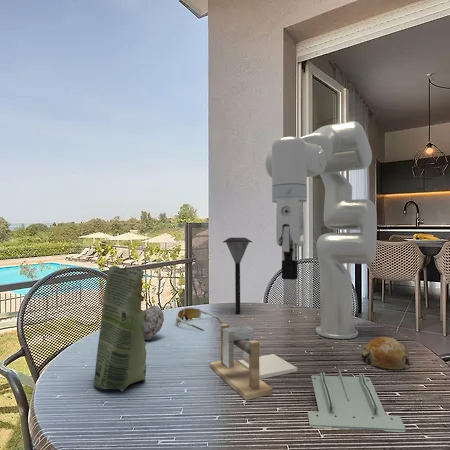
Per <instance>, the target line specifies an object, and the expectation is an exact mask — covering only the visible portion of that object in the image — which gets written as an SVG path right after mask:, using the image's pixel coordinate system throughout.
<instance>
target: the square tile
mask: <svg viewBox="0 0 450 450" xmlns="http://www.w3.org/2000/svg"><path fill="white" fill-rule="evenodd" d="M237 362H238V363H239V364H241V365H242V366H243V367H244V368H246V369H247V370H248V371H249V364H248V363H246V362H245V361H244V360H243V359H238V361H237ZM297 372H298V367H296V366H295V365H293V364H291V363H290V362H288V361H286V360H284V359H283V358H282V357H279V356H278V355H276V354H274V353H272V354H266V355H261V356H260V355H259V379H260V380H263V379H268V378H272V377H276V376H282V375H287V374H291V373H297Z"/></svg>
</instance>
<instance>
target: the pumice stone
mask: <svg viewBox="0 0 450 450" xmlns="http://www.w3.org/2000/svg"><path fill="white" fill-rule="evenodd" d="M143 311H145V312H146V314H147V315H146V322H145V324H144V325H143V326H144V341H151V340H152V339H153V338H154V337H155V336H156V335H157V334H158V333H159V332H160V331H161V329H162V326H163V324H164V321H165V318H164V312H163V311H162V309H161V308H160V306H157V305H152V306H150V307H148V308H146V309H144V310H143Z"/></svg>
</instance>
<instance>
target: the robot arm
mask: <svg viewBox="0 0 450 450" xmlns="http://www.w3.org/2000/svg"><path fill="white" fill-rule="evenodd" d="M372 160H373V153H372V148H371V145H370V142H369V139H368V136H367V134H366V131H365V130H364V127H363V126H362V125H361V124H360V122H358V121H354V120H350V121H345V122H339V123H333V124H328V125H327V124H326V125H324V126H323V125H322V126H321V127H319V128H317V129H316V130H315V131H313V132H311V133H309V134H307V135H303V136H301V137H297V136H283V137H279V138H277V139H275V140H274V141H273V143H272V146H271V150H270V151H269V152H268V154H267V156H266V159H265V169H266V172H267V174H268V176H270V178H271V202H272V203H276V209H275V210H276V214H275V215H276V217H275V218H276V219H275V220H276V222H275V229H276V231H275V232H276V233H275V234H276V244H277V245H278V246H279V247H281V259H282V260H281V278H282V280H294V281H296V280H297V279H298V276H299V275H298V274H299V273H298V270H299V268H298V264H299V263H298V247H303V246H304V245H305V226H304V225H305V224H304V207H303V203H306V202H308V186H307V185H308V183H307V182H308V181H307V179H308V178H311V177H317V176H319V175H320V178H321V180H322V183H323V185H324V186H323V187H324V205H323V206H324V207H323V223H324V226H325V227H326V228H328V229H329V230H334V231H335V230H336V231H337V230H342V232H328V233H327V232H326V233H323V234H322V235H320V236H319V237H318V239H317V241H316V252H317V258H318V266H319V287H320V288H319V290H320V291H319V294H320V295H319V296H320V297H319V299H320V302H319V303H320V305H319V306H320V325H319V326H316V328H315V333H316V334H317V335H318V336H321V337H323V338H328V339H335V340H336V339H337V340H348V339H349V340H350V339H355V338H357V337H358V336H359V331H358V330H357V329H356V327H357V326H363V325H364V320H363V318H359V319H357V318H356V319H355V318H353V290H352V289H353V287H352V286H353V279H352V278H353V277H352V275H351V273H350V272H349V271H348V269H347V268H346V267H345V265H344V264H354V265H356V264H357V265H358V264H359V265H368V264H371V263H373V262H374V261H375V260H376V255H377V240H378V239H377V234H378V233H377V231H378V216H377V215H378V214H377V209H376V208H377V207H376V205H375V203H374V202H373V201H372V200H370V199H368V198H367V199H365V198H360V199H359V198H358V199H353V186H352V184H351V182H350V181H349V179H347V178H346V177H345V176H344V175H342V173H340V172H349V171H360V170H365V169H367V168H368V167H370V165H371V164H372ZM343 230H344V231H345V230H349V231H350V230H356V231H357V230H359V231H360V232H346V231H345V232H343Z"/></svg>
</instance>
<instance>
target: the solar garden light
mask: <svg viewBox="0 0 450 450" xmlns="http://www.w3.org/2000/svg"><path fill="white" fill-rule="evenodd" d="M222 243H225V244H226V246H227V248H228V250H229V252H230V256H231V257H232V259H233V261H234V267H235V268H234V269H235V271H234V273H235V274H234V275H235V276H234V277H235V279H234V280H235V281H234V282H235V283H234V284H235V285H234V286H235V288H234V289H235V291H234V292H235V294H234V295H235V315H236V314H239V315H241V262H242V260H243V257H244V255H245V253H246V250H247V248H248V246H249V244H250V243H253V241H252V240H250V239H249V238H246V237H228V238H227V239H225V240H223V241H222Z"/></svg>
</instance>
